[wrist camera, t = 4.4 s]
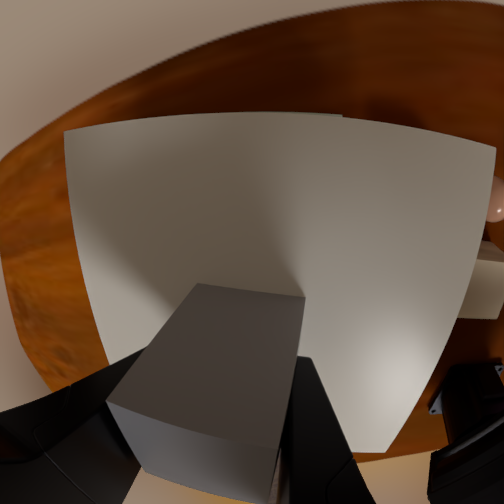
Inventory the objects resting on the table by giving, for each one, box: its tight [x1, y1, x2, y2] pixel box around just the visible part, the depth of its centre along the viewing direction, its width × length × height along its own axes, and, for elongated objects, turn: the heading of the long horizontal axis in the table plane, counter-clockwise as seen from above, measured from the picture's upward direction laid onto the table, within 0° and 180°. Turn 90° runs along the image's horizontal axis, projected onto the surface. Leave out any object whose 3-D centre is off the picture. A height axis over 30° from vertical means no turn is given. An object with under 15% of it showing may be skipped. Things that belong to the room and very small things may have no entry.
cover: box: [64, 113, 496, 504], centre depth 9 cm, size 12×12×10 cm
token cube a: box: [457, 240, 504, 319], centre depth 16 cm, size 4×4×4 cm
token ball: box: [486, 175, 504, 222], centre depth 14 cm, size 3×3×3 cm
